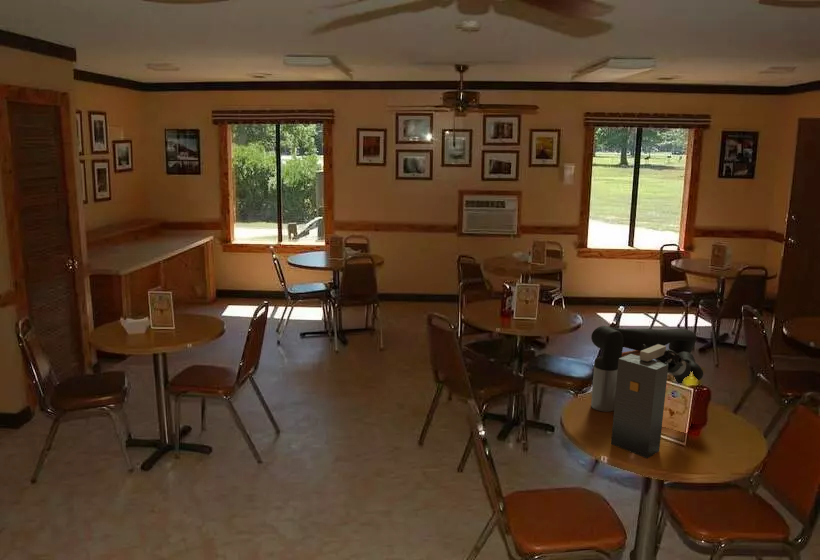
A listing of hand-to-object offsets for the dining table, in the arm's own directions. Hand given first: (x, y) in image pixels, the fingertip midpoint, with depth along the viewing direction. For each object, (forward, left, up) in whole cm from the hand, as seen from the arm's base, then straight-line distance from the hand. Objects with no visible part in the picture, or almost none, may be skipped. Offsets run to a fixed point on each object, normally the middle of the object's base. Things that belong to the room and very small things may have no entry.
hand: (654, 349), depth 230 cm
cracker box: (-30, -24, -35) cm, 52 cm away
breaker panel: (+7, 0, -35) cm, 35 cm away
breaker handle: (+1, 0, -2) cm, 2 cm away
